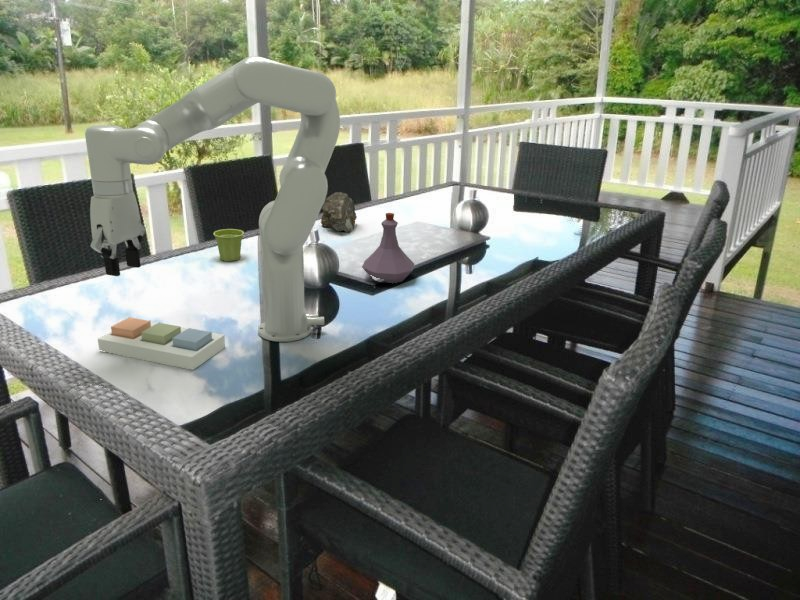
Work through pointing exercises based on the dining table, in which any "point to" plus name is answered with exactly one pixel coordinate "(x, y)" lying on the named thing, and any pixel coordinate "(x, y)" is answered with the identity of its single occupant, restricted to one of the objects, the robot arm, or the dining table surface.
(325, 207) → the rock
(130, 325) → the terracotta key
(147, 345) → the keypad
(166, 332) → the olive key
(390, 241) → the flask
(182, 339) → the slate blue key
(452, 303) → the dining table surface
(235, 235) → the plant pot
